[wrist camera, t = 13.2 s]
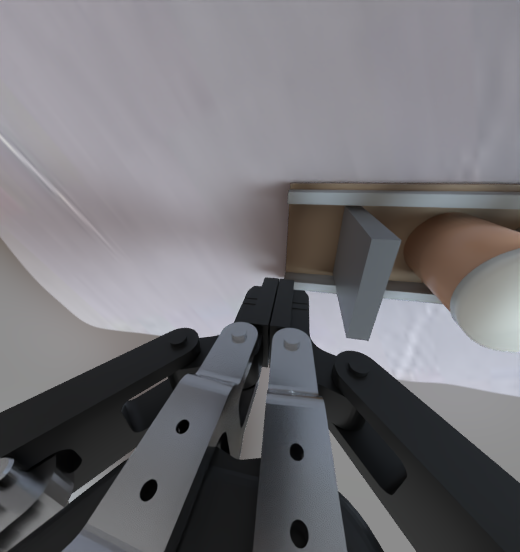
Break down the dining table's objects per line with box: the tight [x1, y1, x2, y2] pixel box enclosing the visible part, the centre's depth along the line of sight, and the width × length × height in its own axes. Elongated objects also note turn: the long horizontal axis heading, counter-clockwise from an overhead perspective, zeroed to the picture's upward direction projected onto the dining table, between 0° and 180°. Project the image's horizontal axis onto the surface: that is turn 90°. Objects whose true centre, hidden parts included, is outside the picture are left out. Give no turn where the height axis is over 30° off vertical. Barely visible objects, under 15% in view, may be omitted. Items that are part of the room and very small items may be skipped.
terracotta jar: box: [403, 212, 520, 352], centre depth 13 cm, size 6×6×8 cm
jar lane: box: [284, 183, 520, 304], centre depth 14 cm, size 28×9×6 cm, turn 91°
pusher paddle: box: [333, 206, 402, 341], centre depth 14 cm, size 1×6×8 cm, turn 0°
